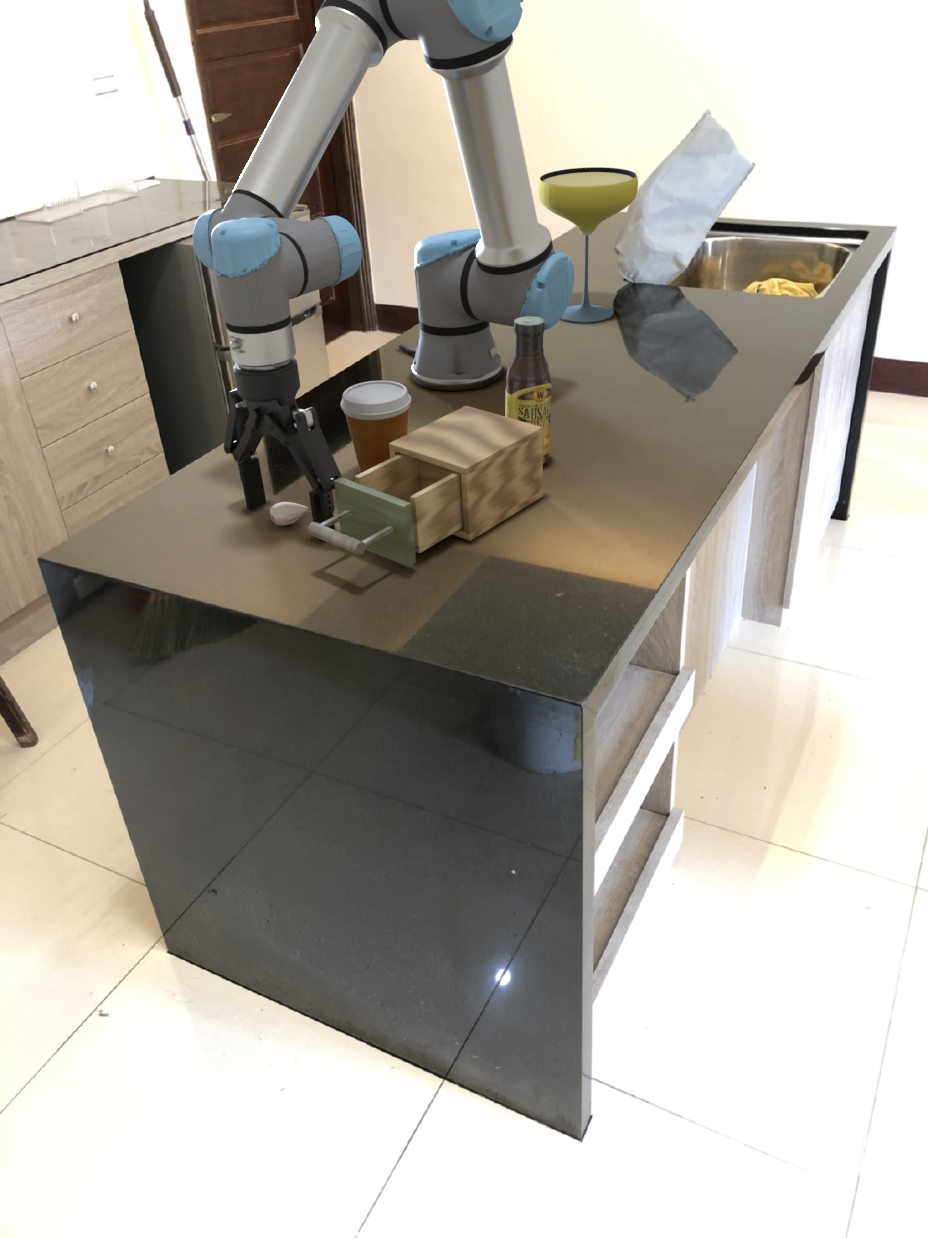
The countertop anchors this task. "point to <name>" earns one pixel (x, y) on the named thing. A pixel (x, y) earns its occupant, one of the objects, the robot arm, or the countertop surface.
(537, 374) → the sauce bottle
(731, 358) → the countertop surface
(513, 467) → the cabinet
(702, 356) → the countertop surface
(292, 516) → the white teardrop piece
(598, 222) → the cocktail glass
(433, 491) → the drawer
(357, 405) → the disposable coffee cup
